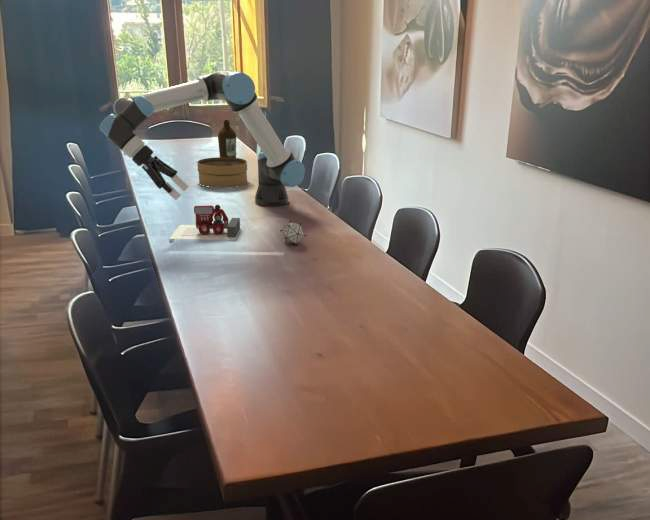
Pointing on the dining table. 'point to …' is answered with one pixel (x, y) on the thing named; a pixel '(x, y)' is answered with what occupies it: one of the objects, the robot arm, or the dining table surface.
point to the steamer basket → (222, 172)
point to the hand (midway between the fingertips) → (182, 193)
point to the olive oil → (227, 141)
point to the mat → (198, 234)
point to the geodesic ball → (293, 233)
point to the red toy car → (210, 219)
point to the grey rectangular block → (233, 227)
